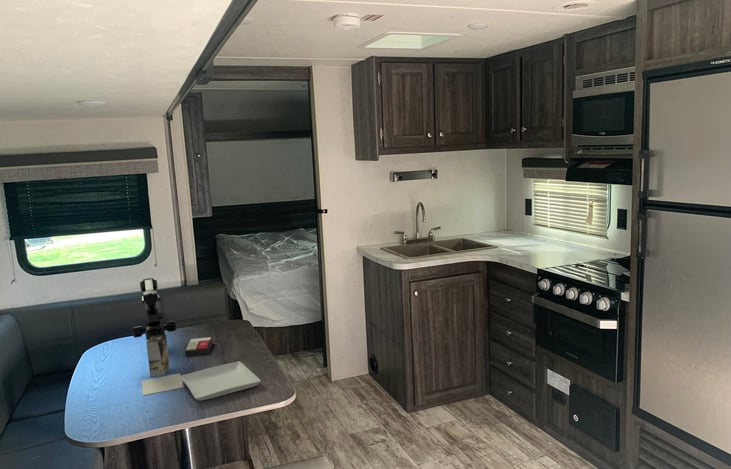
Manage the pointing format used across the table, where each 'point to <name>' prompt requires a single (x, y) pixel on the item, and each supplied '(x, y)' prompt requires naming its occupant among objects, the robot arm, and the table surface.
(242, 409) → the table surface
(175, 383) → the mat
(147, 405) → the table surface
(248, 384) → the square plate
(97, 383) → the table surface
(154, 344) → the coffee box
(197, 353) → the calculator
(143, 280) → the robot arm
